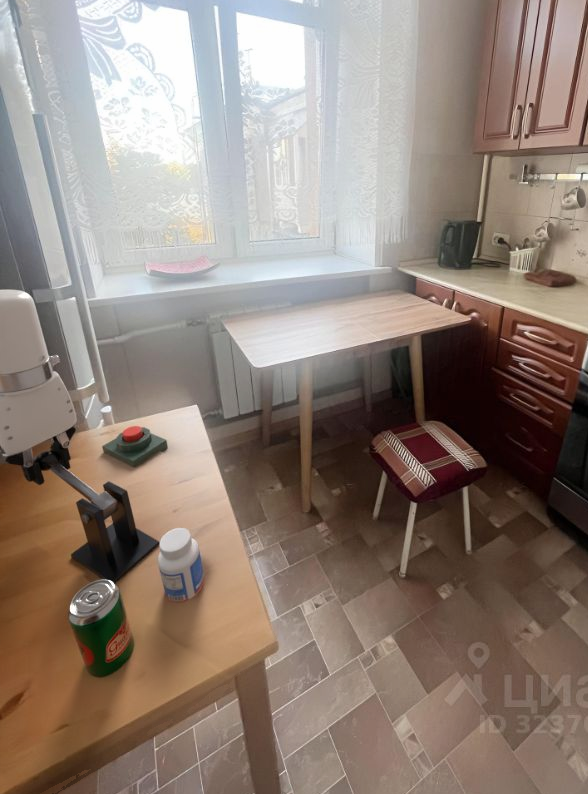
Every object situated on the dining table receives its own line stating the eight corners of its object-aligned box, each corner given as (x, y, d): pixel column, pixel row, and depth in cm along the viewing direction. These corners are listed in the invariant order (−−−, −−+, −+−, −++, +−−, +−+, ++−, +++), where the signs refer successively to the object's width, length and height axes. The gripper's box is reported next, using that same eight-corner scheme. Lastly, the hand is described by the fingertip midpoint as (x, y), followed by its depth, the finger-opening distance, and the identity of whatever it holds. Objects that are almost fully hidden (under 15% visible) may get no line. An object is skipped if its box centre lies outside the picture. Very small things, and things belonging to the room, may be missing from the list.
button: (120, 439, 84) (118, 432, 83) (135, 430, 87) (134, 424, 86) (131, 444, 82) (129, 437, 82) (146, 435, 85) (145, 428, 85)
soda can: (122, 687, 47) (100, 621, 42) (79, 685, 47) (54, 619, 42) (144, 640, 51) (127, 576, 47) (105, 639, 51) (85, 575, 47)
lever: (30, 468, 63) (27, 454, 62) (52, 457, 66) (50, 443, 65) (100, 524, 58) (99, 510, 57) (121, 510, 61) (120, 496, 59)
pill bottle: (195, 563, 62) (187, 516, 58) (211, 587, 58) (203, 539, 55) (159, 586, 58) (148, 537, 55) (173, 613, 55) (162, 563, 51)
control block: (103, 454, 85) (100, 439, 83) (137, 434, 91) (134, 420, 90) (135, 469, 81) (131, 453, 79) (168, 447, 87) (165, 432, 86)
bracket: (72, 560, 62) (53, 502, 57) (120, 523, 68) (106, 469, 64) (113, 588, 58) (96, 528, 53) (160, 546, 64) (148, 490, 60)
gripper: (64, 349, 66) (87, 440, 73) (-68, 392, 52) (-25, 498, 59) (92, 359, 63) (113, 452, 70) (-39, 407, 49) (2, 517, 56)
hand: (50, 472), depth 64 cm, fingers closed on lever, 3 cm apart
